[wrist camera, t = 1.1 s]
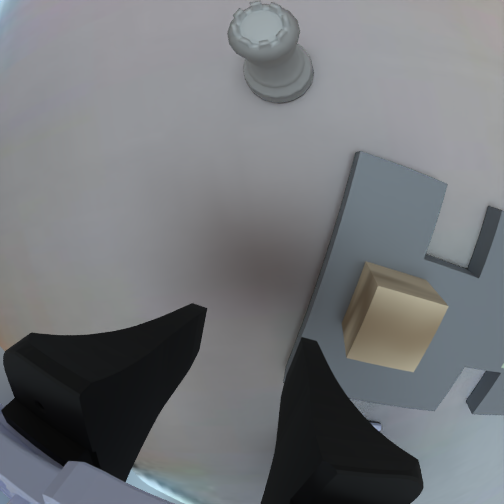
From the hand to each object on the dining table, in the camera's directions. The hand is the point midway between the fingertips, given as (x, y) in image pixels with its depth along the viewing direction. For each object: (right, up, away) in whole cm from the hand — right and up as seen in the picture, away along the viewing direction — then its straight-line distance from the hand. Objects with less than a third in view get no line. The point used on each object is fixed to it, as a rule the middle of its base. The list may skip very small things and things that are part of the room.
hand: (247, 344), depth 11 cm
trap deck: (+17, -2, +8) cm, 19 cm away
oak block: (+9, 0, +7) cm, 11 cm away
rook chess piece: (+2, +15, +6) cm, 17 cm away
